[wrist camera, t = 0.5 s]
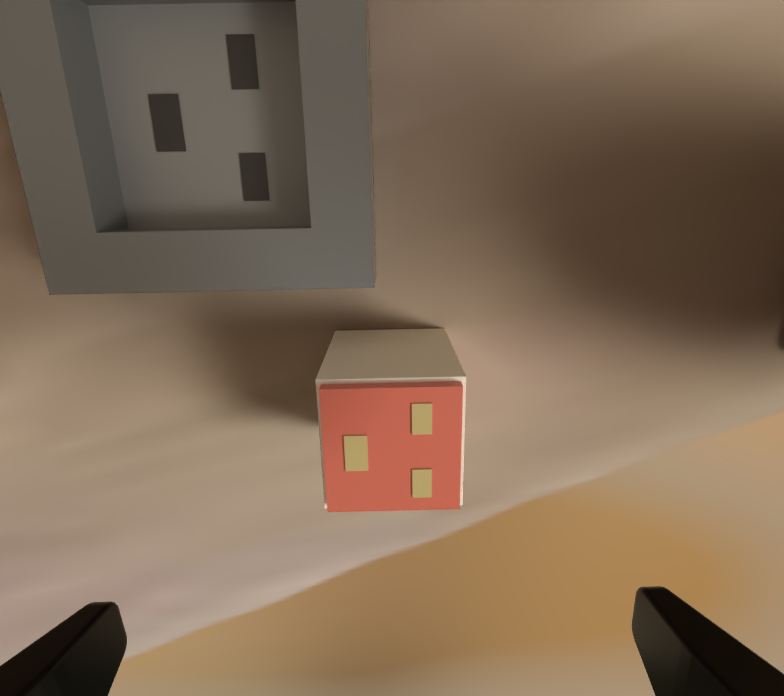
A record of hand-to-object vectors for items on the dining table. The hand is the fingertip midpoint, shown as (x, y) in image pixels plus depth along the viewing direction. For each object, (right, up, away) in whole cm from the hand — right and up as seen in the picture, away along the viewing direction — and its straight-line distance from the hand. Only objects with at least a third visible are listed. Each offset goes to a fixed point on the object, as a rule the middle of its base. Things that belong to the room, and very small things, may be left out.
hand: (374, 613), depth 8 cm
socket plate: (-6, +13, +9) cm, 16 cm away
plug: (0, +3, +12) cm, 12 cm away
